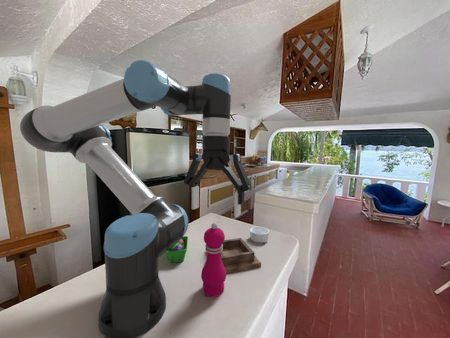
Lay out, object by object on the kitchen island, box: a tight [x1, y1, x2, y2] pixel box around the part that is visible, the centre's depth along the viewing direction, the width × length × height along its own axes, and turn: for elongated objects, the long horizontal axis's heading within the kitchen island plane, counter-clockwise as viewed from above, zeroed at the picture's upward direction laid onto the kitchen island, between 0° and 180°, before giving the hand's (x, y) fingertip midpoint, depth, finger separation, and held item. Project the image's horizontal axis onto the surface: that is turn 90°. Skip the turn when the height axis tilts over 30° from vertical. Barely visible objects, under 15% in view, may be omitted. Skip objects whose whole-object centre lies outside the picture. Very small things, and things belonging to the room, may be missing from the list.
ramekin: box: [249, 226, 270, 244], centre depth 91 cm, size 9×9×4 cm
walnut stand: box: [221, 237, 262, 274], centre depth 74 cm, size 16×16×4 cm
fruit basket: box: [165, 235, 189, 263], centre depth 75 cm, size 11×9×11 cm
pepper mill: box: [200, 222, 227, 298], centre depth 57 cm, size 7×7×20 cm
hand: (215, 211), depth 56 cm, fingers open, 13 cm apart
